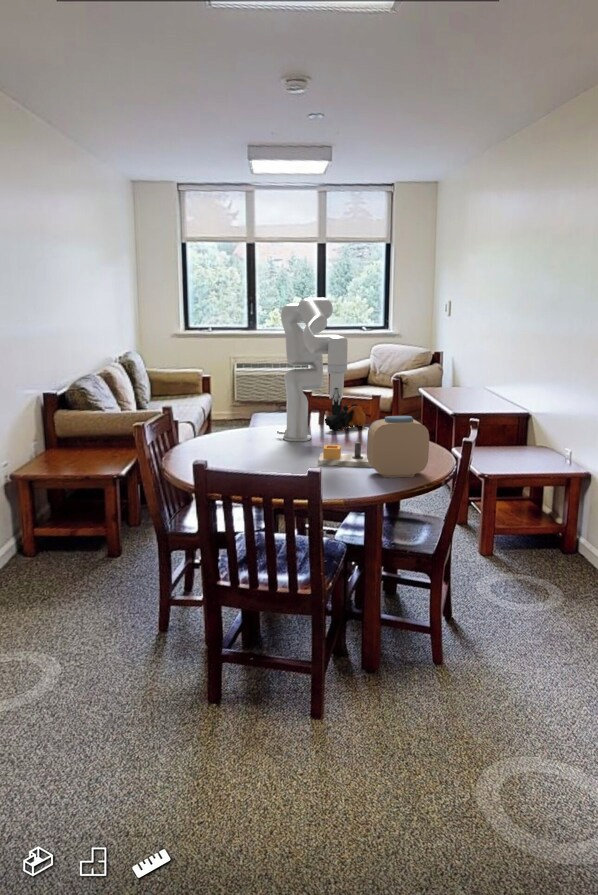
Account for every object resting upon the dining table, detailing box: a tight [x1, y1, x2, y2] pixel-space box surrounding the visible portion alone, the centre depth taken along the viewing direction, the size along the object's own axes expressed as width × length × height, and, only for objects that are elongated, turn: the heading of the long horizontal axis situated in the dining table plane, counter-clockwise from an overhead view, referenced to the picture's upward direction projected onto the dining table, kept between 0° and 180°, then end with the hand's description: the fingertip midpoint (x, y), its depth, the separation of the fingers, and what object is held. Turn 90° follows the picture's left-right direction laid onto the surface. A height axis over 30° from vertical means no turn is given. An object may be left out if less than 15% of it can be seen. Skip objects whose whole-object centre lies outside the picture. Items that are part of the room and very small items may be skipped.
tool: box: [324, 403, 367, 432], centre depth 331 cm, size 8×23×15 cm, turn 132°
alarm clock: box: [366, 415, 430, 478], centre depth 250 cm, size 21×10×22 cm, turn 98°
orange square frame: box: [322, 444, 342, 459], centre depth 269 cm, size 6×6×4 cm
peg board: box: [317, 441, 373, 468], centre depth 268 cm, size 22×12×8 cm, turn 83°
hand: (336, 412), depth 267 cm, fingers open, 9 cm apart
